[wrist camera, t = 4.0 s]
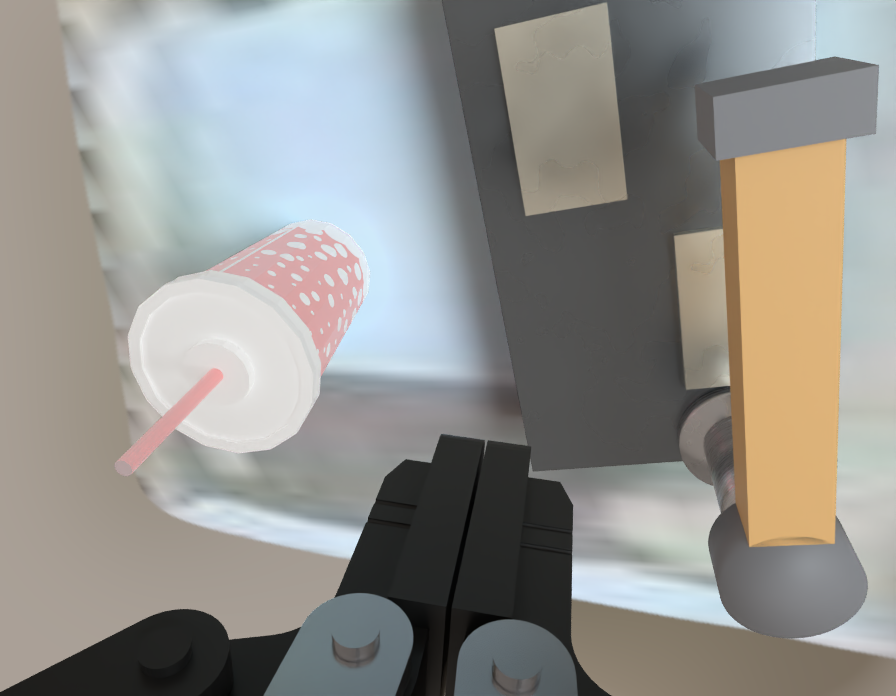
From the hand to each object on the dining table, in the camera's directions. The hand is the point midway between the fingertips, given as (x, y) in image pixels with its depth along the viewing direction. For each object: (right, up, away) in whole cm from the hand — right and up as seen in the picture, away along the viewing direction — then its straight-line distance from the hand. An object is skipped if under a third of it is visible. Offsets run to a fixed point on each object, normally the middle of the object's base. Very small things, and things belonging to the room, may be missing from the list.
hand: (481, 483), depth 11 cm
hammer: (+8, +2, +6) cm, 10 cm away
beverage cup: (-6, +6, +18) cm, 20 cm away
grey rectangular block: (+6, +8, +14) cm, 17 cm away
